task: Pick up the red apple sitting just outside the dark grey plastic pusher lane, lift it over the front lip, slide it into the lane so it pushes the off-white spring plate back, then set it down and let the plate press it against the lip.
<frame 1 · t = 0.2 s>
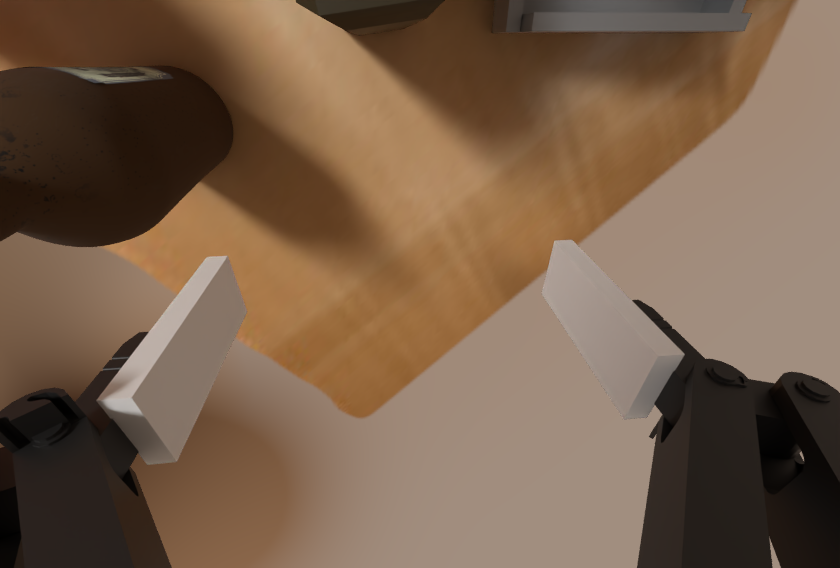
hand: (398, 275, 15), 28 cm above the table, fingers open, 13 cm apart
olive oil: (183, 119, 35), on the table
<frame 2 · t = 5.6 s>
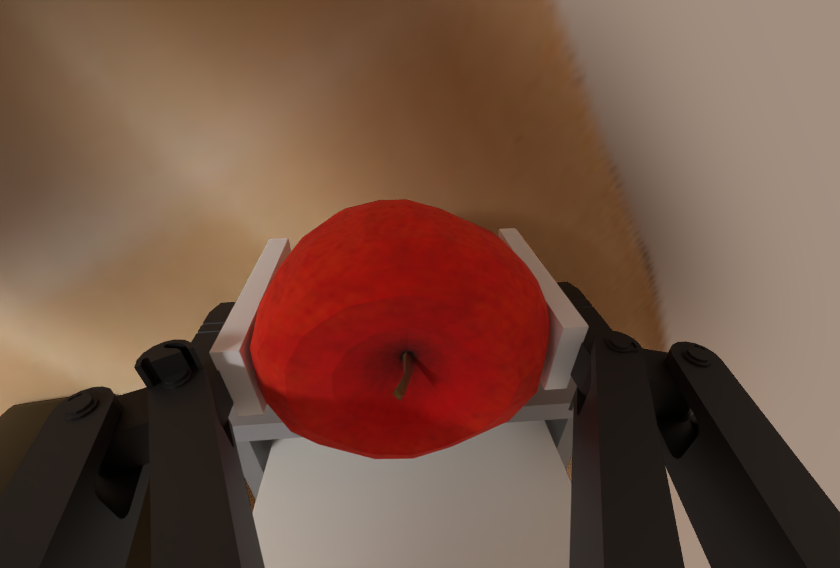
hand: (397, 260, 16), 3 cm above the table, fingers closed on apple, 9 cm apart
apple: (395, 253, 16), point 3 cm above the table, touching gripper
lane: (410, 424, 28), on the table
pusher: (417, 531, 21), point 8 cm above the table, slide at 0.0 cm
bottle: (126, 457, 27), on the table
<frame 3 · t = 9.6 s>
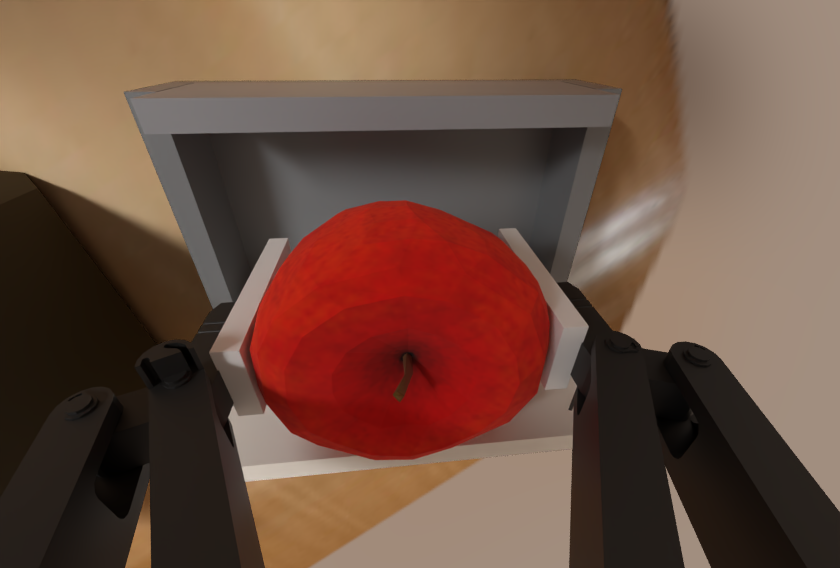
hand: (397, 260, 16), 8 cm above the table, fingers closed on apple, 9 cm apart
apple: (395, 254, 16), point 7 cm above the table, touching gripper, pusher
lane: (392, 247, 24), on the table
pusher: (401, 371, 20), point 8 cm above the table, slide at 4.7 cm, touching apple
bottle: (64, 287, 24), on the table
when the fingers open (3 cm above the table, at t = 11.5 s): apple drops 2 cm, resting on lane, pusher.
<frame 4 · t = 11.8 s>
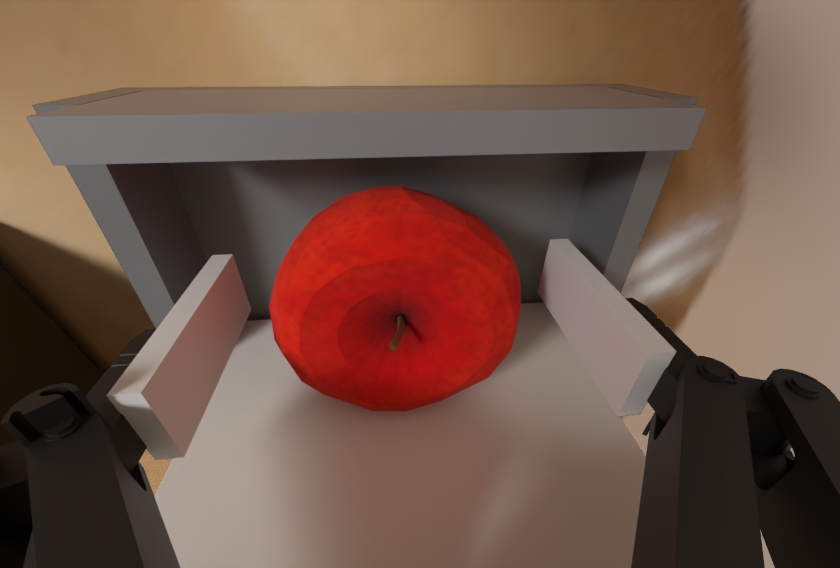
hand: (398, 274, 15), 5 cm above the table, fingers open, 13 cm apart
apple: (392, 238, 18), point 1 cm above the table, touching lane, pusher
lane: (396, 282, 21), on the table
pusher: (407, 448, 17), point 8 cm above the table, slide at 5.1 cm, touching apple
bottle: (6, 330, 20), on the table
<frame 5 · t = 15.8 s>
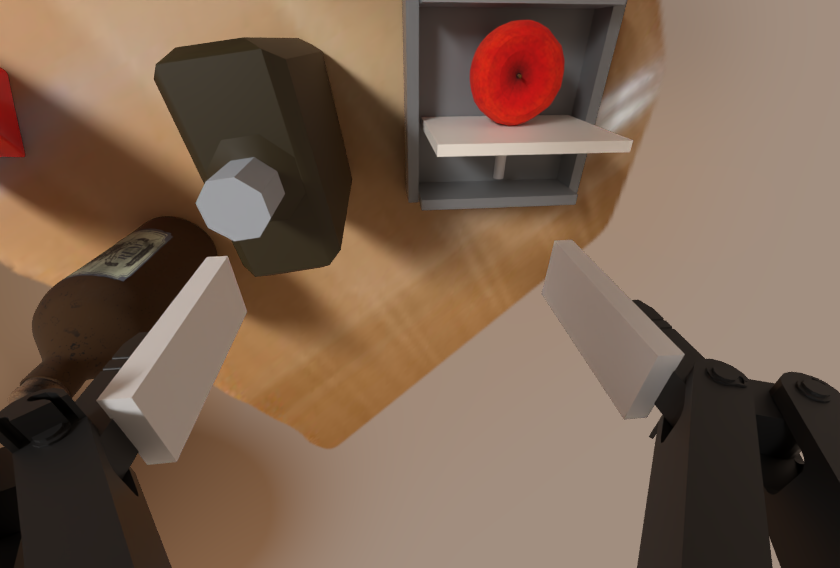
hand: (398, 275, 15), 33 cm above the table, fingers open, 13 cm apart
apple: (498, 71, 39), point 1 cm above the table, touching lane
lane: (493, 103, 42), on the table
olive oil: (180, 247, 48), on the table
pusher: (509, 157, 38), point 8 cm above the table, slide at 5.1 cm
bottle: (304, 124, 41), on the table
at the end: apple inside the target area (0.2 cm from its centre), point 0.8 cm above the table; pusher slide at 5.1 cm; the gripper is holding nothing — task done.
